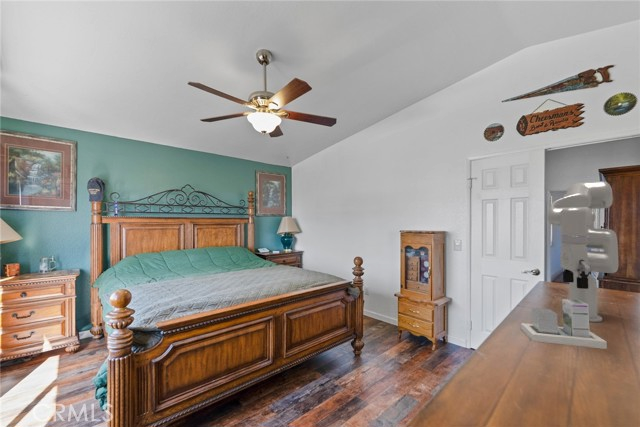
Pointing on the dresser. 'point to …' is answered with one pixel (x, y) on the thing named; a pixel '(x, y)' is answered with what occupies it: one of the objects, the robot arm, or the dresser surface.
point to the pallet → (564, 338)
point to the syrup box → (575, 318)
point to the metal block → (544, 321)
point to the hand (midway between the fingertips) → (575, 285)
